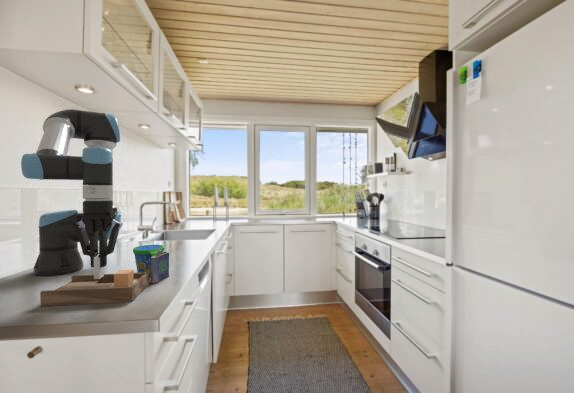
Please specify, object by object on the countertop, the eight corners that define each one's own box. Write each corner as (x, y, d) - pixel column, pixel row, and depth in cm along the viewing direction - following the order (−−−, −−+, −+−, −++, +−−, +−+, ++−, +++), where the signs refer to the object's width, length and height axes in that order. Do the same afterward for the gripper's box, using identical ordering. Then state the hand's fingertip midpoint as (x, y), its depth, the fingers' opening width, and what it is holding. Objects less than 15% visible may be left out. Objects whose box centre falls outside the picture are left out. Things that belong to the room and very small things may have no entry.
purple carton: (155, 284, 94) (155, 252, 94) (147, 283, 94) (147, 252, 94) (170, 276, 103) (170, 247, 103) (163, 275, 103) (163, 246, 103)
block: (119, 283, 87) (119, 270, 87) (133, 282, 88) (133, 269, 88) (113, 287, 83) (113, 274, 83) (128, 286, 84) (128, 273, 84)
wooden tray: (73, 287, 90) (73, 275, 90) (149, 284, 94) (149, 272, 94) (40, 306, 75) (40, 291, 75) (132, 301, 79) (132, 287, 79)
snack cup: (168, 276, 102) (168, 248, 102) (136, 282, 96) (136, 252, 96) (160, 267, 115) (159, 242, 115) (130, 271, 109) (130, 245, 109)
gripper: (66, 200, 79) (67, 282, 80) (116, 200, 81) (116, 280, 82) (81, 199, 87) (82, 274, 88) (126, 199, 89) (127, 273, 90)
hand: (98, 277), depth 85 cm, fingers closed
